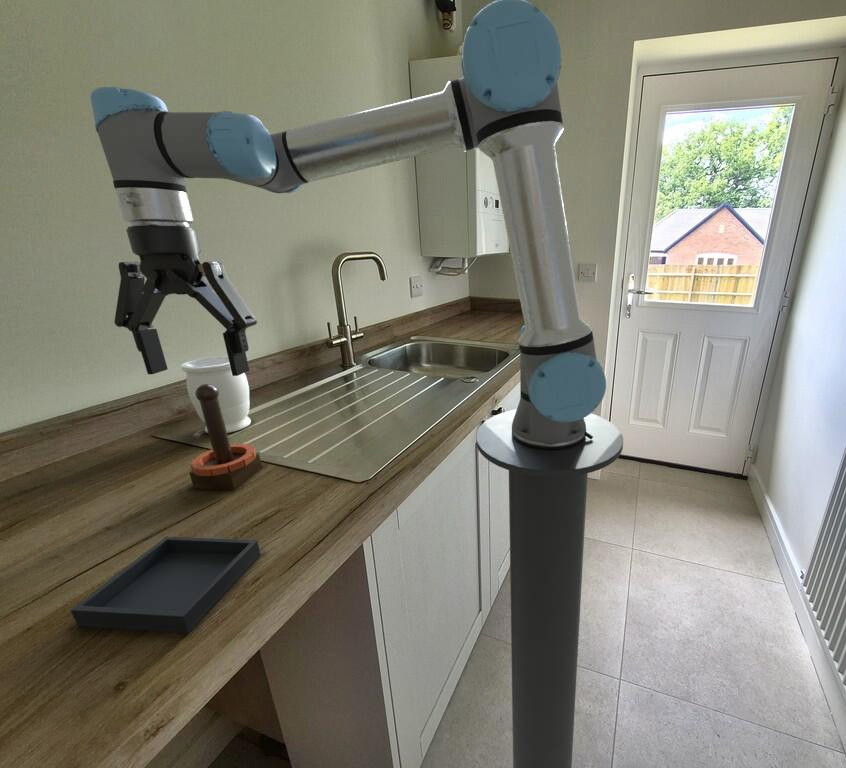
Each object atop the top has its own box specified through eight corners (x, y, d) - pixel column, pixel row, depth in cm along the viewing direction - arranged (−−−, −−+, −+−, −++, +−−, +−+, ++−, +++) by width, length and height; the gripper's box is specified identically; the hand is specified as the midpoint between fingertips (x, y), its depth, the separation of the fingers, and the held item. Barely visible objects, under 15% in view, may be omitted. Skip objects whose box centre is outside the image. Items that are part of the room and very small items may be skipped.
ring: (267, 450, 72) (265, 444, 72) (231, 476, 64) (229, 470, 64) (220, 449, 73) (218, 443, 73) (178, 475, 65) (176, 468, 64)
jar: (266, 417, 94) (253, 354, 90) (236, 437, 84) (219, 367, 80) (222, 417, 95) (206, 354, 90) (186, 437, 85) (166, 367, 80)
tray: (261, 555, 52) (257, 540, 51) (188, 633, 41) (182, 616, 41) (171, 550, 53) (166, 536, 52) (77, 627, 42) (69, 610, 41)
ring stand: (262, 467, 73) (241, 378, 67) (234, 489, 66) (208, 392, 61) (225, 466, 73) (201, 377, 68) (193, 488, 66) (164, 391, 61)
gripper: (46, 224, 54) (99, 378, 60) (227, 223, 52) (260, 381, 59) (104, 227, 61) (146, 364, 67) (264, 225, 59) (290, 366, 66)
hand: (199, 372), depth 63 cm, fingers open, 13 cm apart
